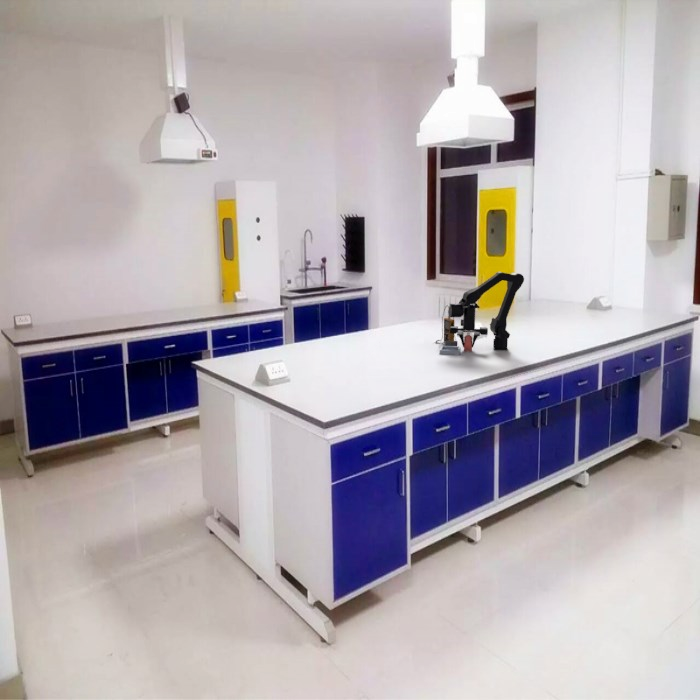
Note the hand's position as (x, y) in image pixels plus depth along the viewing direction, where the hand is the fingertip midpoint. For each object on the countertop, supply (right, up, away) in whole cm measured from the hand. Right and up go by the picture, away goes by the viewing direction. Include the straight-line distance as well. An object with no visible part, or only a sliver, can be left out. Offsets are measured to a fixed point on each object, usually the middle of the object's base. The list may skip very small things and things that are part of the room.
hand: (468, 347), depth 320 cm
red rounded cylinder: (0, -2, 0) cm, 2 cm away
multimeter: (-10, +2, +18) cm, 20 cm away
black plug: (-8, +1, +6) cm, 10 cm away
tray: (-9, -2, -3) cm, 10 cm away
